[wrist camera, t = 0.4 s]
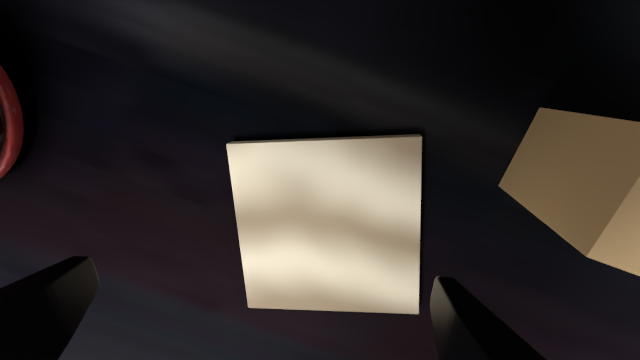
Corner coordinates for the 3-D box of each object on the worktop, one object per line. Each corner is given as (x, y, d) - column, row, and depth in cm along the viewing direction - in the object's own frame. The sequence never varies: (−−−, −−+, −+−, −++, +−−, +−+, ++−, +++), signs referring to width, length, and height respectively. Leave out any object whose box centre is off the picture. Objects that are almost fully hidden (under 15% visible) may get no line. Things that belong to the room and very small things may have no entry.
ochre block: (577, 213, 21) (721, 305, 12) (498, 185, 21) (586, 256, 12) (625, 136, 19) (828, 180, 11) (539, 107, 20) (672, 126, 11)
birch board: (416, 304, 24) (418, 314, 23) (252, 299, 26) (248, 307, 25) (419, 134, 21) (421, 136, 20) (232, 141, 23) (226, 144, 22)
